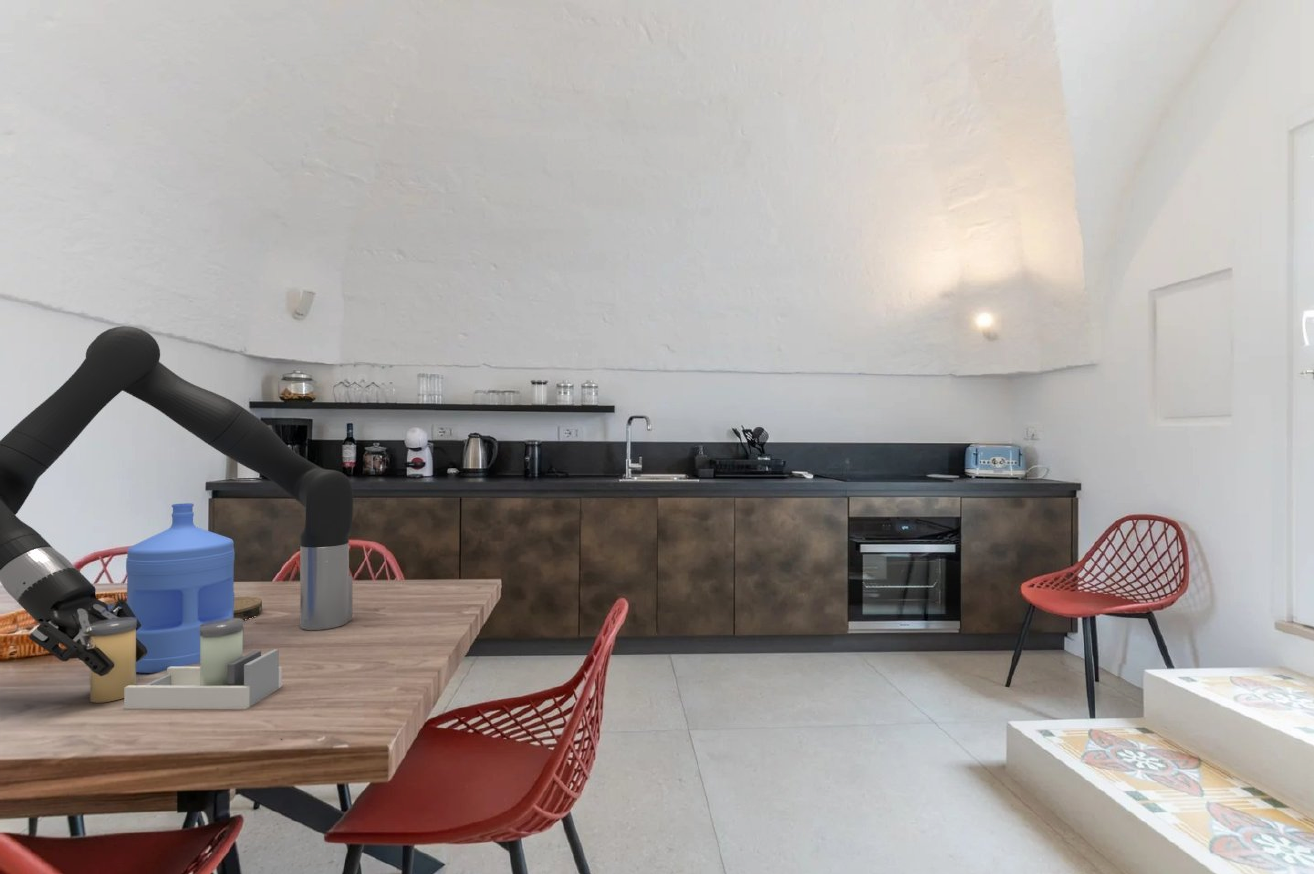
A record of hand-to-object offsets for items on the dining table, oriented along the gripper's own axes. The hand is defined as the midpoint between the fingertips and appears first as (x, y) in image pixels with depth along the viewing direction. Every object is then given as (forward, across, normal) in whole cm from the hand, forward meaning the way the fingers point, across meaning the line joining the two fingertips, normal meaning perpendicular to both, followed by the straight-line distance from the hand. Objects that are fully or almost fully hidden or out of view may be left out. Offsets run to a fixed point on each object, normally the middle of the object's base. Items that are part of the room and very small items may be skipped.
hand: (125, 663), depth 94 cm
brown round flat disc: (-9, +46, +18) cm, 50 cm away
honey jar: (+2, 0, +5) cm, 5 cm away
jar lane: (+13, 0, -5) cm, 14 cm away
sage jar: (+14, 0, -7) cm, 15 cm away
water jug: (0, +19, +9) cm, 21 cm away
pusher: (+17, 0, -10) cm, 19 cm away
